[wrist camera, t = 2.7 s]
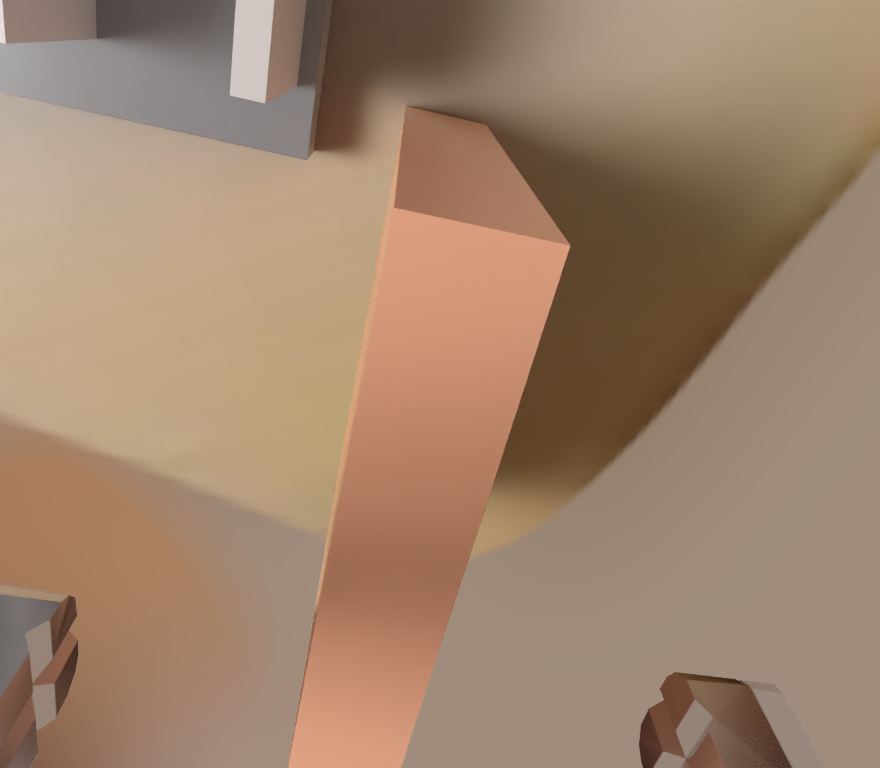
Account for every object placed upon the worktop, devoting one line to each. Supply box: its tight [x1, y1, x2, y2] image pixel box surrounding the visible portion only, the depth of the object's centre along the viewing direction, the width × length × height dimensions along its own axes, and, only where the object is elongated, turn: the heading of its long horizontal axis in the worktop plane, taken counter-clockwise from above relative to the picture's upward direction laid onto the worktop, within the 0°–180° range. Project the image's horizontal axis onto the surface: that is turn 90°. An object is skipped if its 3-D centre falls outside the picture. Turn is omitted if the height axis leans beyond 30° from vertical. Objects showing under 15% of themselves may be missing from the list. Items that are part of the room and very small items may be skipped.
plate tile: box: [288, 106, 570, 768], centre depth 14 cm, size 11×2×10 cm, turn 167°
